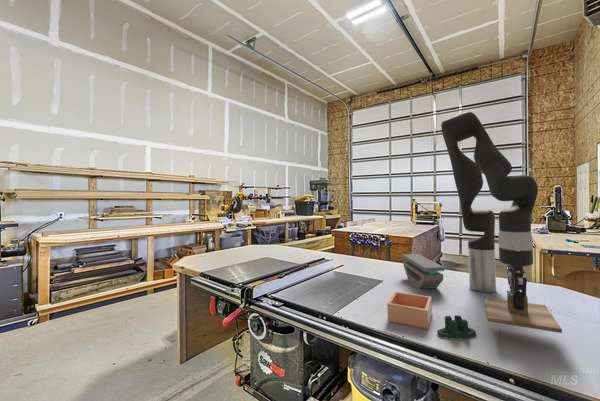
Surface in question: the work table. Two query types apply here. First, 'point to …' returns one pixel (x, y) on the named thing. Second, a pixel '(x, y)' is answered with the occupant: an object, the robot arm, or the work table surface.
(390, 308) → the open storage bin
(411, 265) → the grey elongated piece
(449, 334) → the mount
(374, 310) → the work table surface
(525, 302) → the lid
